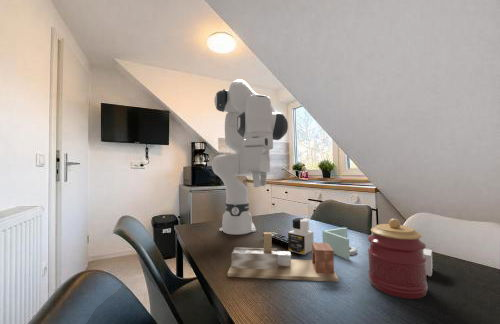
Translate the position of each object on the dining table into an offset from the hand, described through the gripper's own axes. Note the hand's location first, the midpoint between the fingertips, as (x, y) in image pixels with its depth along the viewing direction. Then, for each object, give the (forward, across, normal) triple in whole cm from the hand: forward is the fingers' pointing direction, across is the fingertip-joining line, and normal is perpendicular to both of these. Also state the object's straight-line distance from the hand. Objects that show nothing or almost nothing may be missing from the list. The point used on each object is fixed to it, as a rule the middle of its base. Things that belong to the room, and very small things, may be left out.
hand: (260, 186), depth 73 cm
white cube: (+26, -10, +47) cm, 55 cm away
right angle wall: (+26, -22, +28) cm, 44 cm away
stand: (+26, 0, +6) cm, 26 cm away
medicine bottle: (+25, -19, +12) cm, 34 cm away
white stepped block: (+24, 0, 0) cm, 24 cm away
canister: (+26, +2, +37) cm, 45 cm away
